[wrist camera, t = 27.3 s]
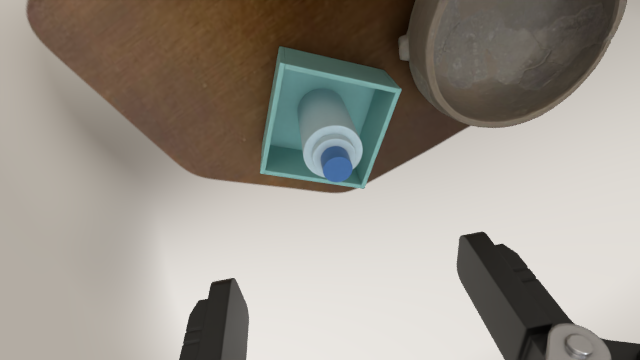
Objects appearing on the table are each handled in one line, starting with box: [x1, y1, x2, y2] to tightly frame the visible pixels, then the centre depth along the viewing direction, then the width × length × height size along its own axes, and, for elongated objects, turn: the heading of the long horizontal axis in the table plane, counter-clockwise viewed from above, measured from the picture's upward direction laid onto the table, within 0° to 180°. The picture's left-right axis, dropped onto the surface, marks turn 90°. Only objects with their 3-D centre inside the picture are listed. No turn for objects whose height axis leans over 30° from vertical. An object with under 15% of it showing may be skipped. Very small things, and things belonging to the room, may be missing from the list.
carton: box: [260, 46, 401, 189], centre depth 38 cm, size 12×12×6 cm
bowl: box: [398, 0, 627, 128], centre depth 33 cm, size 17×18×10 cm
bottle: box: [298, 88, 363, 182], centre depth 35 cm, size 6×6×13 cm
